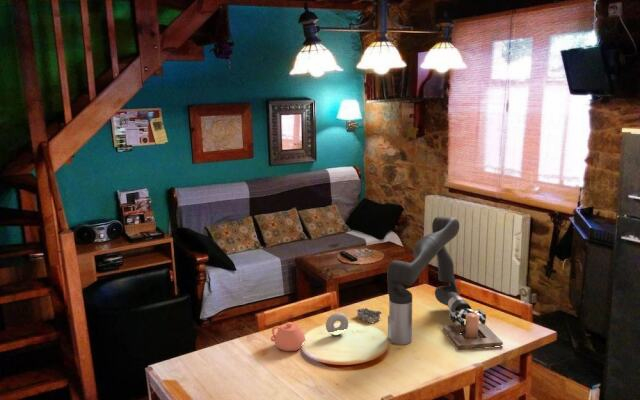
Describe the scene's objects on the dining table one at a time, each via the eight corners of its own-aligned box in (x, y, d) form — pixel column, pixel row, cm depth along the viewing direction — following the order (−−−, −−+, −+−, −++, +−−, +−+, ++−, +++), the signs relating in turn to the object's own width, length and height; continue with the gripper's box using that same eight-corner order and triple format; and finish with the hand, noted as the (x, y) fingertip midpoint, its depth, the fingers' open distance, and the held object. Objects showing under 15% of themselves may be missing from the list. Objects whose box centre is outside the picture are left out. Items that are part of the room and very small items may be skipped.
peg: (467, 341, 212) (468, 318, 210) (463, 335, 217) (464, 313, 215) (479, 340, 212) (480, 317, 210) (475, 335, 217) (475, 312, 215)
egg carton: (382, 320, 234) (382, 312, 233) (369, 325, 230) (369, 316, 229) (367, 312, 243) (367, 304, 242) (354, 316, 239) (354, 308, 238)
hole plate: (458, 350, 205) (458, 345, 204) (443, 330, 222) (443, 325, 222) (502, 346, 207) (502, 342, 206) (483, 327, 224) (484, 323, 224)
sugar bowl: (301, 355, 204) (300, 330, 202) (266, 352, 207) (265, 328, 205) (308, 341, 216) (307, 317, 214) (275, 338, 218) (274, 315, 217)
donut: (327, 339, 217) (327, 316, 215) (324, 335, 220) (324, 313, 218) (349, 335, 220) (349, 312, 218) (346, 331, 223) (346, 309, 221)
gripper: (443, 300, 226) (457, 315, 210) (475, 298, 227) (491, 313, 211) (443, 316, 227) (456, 332, 211) (475, 314, 229) (490, 330, 213)
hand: (473, 322), depth 211 cm, fingers open, 8 cm apart
